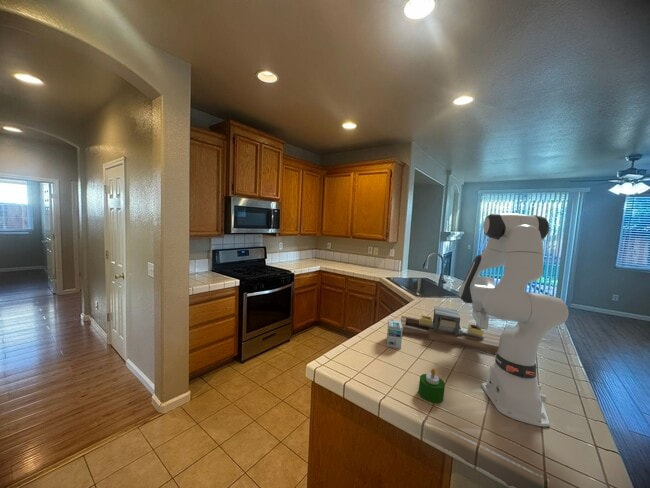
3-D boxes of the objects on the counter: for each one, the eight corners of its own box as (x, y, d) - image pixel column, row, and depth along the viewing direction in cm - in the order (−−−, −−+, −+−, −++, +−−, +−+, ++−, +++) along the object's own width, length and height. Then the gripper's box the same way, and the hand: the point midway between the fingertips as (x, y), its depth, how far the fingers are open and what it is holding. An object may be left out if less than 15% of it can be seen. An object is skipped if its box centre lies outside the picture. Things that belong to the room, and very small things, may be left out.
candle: (430, 405, 86) (434, 377, 85) (413, 390, 93) (416, 364, 93) (448, 400, 89) (451, 373, 88) (430, 385, 97) (433, 360, 96)
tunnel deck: (512, 357, 124) (516, 329, 123) (398, 332, 144) (400, 308, 142) (502, 342, 141) (505, 317, 140) (401, 321, 160) (403, 300, 159)
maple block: (457, 333, 138) (459, 323, 137) (439, 330, 141) (440, 319, 141) (456, 329, 143) (457, 319, 143) (439, 326, 147) (440, 316, 146)
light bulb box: (401, 349, 124) (403, 328, 123) (386, 347, 125) (389, 325, 124) (399, 339, 135) (401, 320, 134) (386, 337, 136) (388, 318, 135)
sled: (484, 339, 132) (485, 331, 132) (418, 326, 144) (419, 319, 143) (480, 333, 140) (481, 325, 140) (419, 321, 152) (419, 314, 151)
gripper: (493, 313, 125) (490, 340, 126) (484, 302, 144) (481, 325, 145) (478, 310, 127) (475, 337, 128) (471, 300, 146) (468, 323, 147)
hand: (478, 331), depth 137 cm, fingers closed
